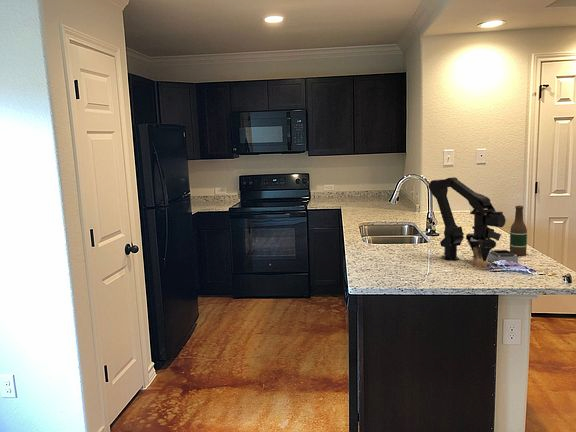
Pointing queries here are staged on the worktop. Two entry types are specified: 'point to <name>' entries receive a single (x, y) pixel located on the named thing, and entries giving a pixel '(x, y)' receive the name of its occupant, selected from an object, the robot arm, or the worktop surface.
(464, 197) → the robot arm
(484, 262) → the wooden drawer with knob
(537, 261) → the worktop surface
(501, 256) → the drawer cabinet
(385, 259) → the worktop surface
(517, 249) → the beer bottle
